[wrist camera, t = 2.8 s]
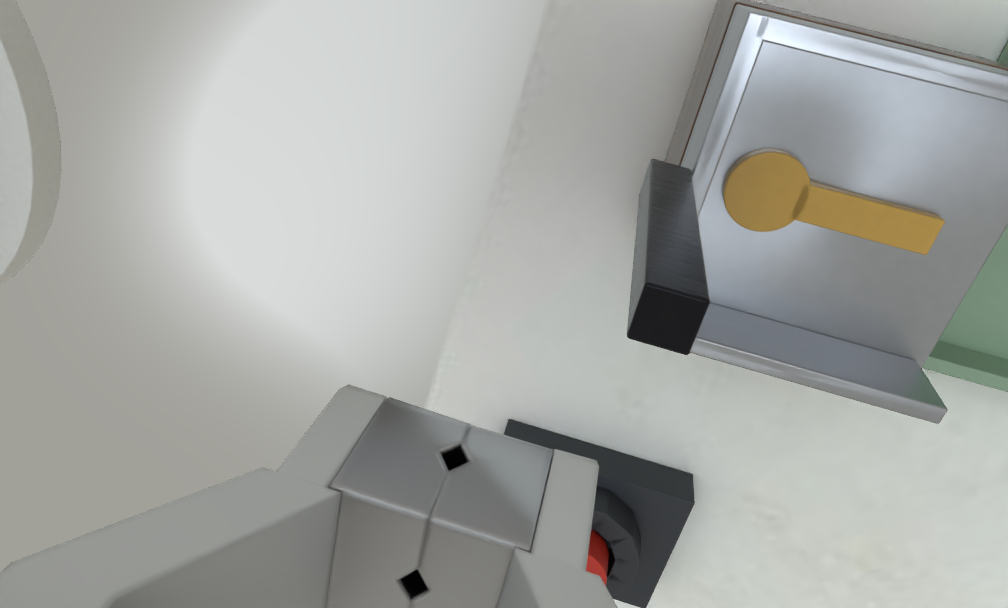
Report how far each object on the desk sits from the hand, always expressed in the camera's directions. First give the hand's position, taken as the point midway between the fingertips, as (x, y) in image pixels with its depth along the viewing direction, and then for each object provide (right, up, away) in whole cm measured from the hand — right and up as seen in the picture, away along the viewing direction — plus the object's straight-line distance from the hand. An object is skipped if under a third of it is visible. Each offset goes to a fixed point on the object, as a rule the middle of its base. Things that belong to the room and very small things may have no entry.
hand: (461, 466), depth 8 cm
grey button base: (+5, -9, +31) cm, 32 cm away
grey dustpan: (+11, +5, +15) cm, 19 cm away
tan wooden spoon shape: (+11, +5, +14) cm, 19 cm away
